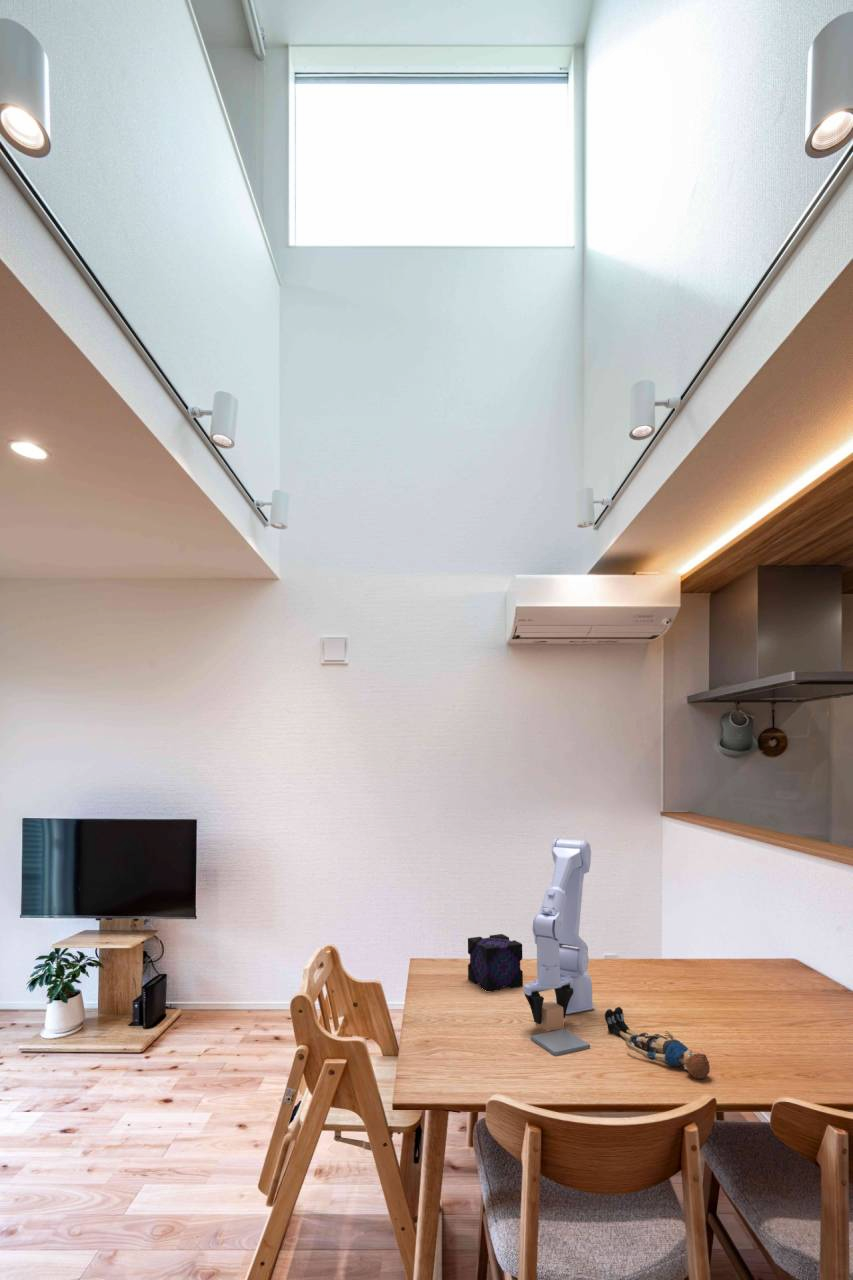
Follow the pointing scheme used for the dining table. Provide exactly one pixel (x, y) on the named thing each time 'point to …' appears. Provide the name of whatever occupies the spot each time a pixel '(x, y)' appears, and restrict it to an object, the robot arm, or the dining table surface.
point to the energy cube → (495, 962)
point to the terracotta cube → (552, 1016)
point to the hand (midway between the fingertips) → (549, 1019)
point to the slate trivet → (560, 1042)
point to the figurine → (659, 1046)
